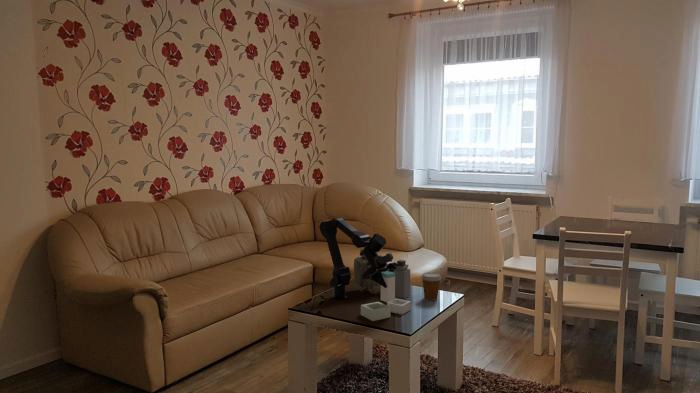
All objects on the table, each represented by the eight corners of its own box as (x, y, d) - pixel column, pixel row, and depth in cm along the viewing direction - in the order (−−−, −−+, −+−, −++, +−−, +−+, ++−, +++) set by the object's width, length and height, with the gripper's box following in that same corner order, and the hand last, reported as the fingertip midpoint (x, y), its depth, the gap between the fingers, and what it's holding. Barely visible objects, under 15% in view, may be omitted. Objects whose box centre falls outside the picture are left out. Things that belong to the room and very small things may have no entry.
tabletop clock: (378, 294, 257) (378, 246, 254) (360, 296, 255) (361, 247, 252) (369, 287, 271) (369, 240, 268) (353, 288, 269) (353, 241, 266)
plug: (380, 300, 228) (380, 272, 227) (387, 297, 231) (387, 271, 230) (387, 302, 225) (388, 274, 224) (394, 300, 228) (395, 273, 227)
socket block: (360, 314, 227) (360, 305, 227) (378, 311, 232) (378, 301, 232) (372, 321, 219) (372, 311, 219) (390, 317, 224) (390, 307, 224)
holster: (386, 311, 232) (387, 302, 232) (395, 306, 239) (395, 298, 238) (402, 314, 228) (402, 305, 227) (410, 309, 234) (410, 301, 234)
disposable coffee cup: (439, 302, 246) (439, 277, 244) (419, 300, 249) (419, 276, 247) (441, 296, 254) (442, 273, 253) (423, 294, 258) (423, 271, 256)
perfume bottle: (409, 295, 257) (410, 260, 255) (403, 298, 251) (404, 262, 249) (398, 293, 260) (398, 258, 258) (391, 296, 255) (392, 261, 253)
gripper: (367, 250, 222) (385, 280, 215) (395, 244, 235) (413, 272, 228) (354, 265, 229) (371, 294, 222) (383, 258, 241) (400, 286, 234)
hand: (390, 286), depth 226 cm, fingers closed on plug, 4 cm apart
